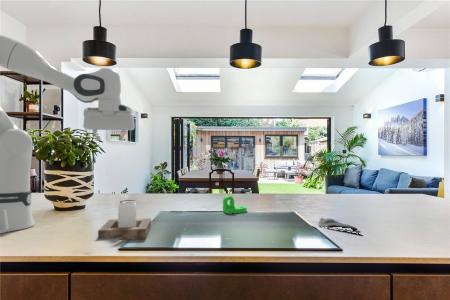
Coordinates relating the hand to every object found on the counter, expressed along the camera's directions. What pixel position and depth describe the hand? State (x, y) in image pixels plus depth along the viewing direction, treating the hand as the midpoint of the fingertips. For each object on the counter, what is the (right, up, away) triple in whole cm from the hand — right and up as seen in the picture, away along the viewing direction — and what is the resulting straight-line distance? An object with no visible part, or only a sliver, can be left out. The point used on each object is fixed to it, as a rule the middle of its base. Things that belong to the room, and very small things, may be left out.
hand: (109, 140), depth 125 cm
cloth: (+95, -37, -1) cm, 102 cm away
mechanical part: (+55, -36, +26) cm, 70 cm away
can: (+12, -35, -14) cm, 40 cm away
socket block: (+12, -35, -14) cm, 40 cm away
